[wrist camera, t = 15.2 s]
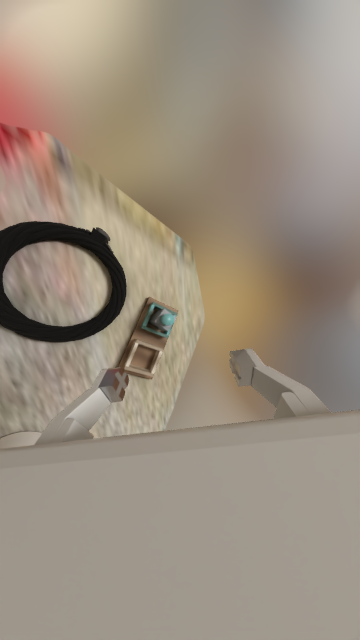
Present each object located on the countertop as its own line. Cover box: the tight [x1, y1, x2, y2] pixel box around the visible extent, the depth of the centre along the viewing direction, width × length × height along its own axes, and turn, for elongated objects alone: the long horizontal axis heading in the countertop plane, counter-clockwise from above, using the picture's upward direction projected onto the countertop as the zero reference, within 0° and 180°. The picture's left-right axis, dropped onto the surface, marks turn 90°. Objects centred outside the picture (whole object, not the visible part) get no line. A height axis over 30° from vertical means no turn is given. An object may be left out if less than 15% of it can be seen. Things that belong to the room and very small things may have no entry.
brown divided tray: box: [118, 297, 178, 379], centre depth 39 cm, size 22×10×4 cm, turn 157°
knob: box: [149, 309, 176, 331], centre depth 36 cm, size 4×4×10 cm
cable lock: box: [0, 221, 127, 342], centre depth 32 cm, size 28×4×30 cm
